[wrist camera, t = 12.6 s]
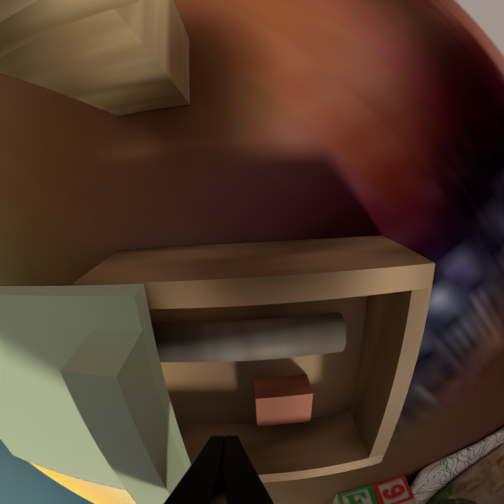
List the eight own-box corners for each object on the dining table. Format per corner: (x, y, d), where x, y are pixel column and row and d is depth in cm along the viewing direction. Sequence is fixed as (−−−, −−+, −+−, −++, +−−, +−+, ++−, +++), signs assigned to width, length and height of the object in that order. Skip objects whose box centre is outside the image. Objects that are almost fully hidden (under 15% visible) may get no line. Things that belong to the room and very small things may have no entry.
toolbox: (382, 235, 12) (434, 263, 8) (358, 411, 14) (380, 462, 11) (21, 257, 12) (-31, 284, 8) (76, 413, 14) (51, 457, 10)
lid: (143, 283, 8) (102, 335, 5) (198, 485, 10) (194, 533, 8) (-59, 285, 8) (-98, 307, 5) (18, 446, 10) (-1, 477, 7)
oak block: (199, 37, 10) (145, -122, 1) (200, 103, 10) (115, -32, 2) (111, 54, 9) (-19, -42, 1) (109, 117, 10) (-61, 69, 2)
